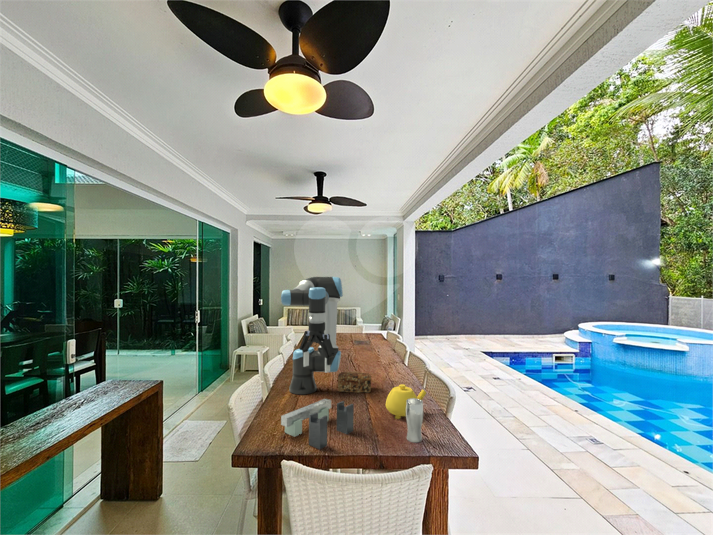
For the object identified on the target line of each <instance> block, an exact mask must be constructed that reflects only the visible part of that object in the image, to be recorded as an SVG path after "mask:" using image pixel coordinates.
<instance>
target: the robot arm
mask: <svg viewBox="0 0 713 535" xmlns="http://www.w3.org/2000/svg"><path fill="white" fill-rule="evenodd" d="M343 295H344V294H343V284H342V279H341V278H340V277H338V276H313V277H311V276H310V277H309V278H308V277H307V278H305V279H303V280H301V281H299V283H298V285H297V286H295V287H294V288H293V289H284V290H282V291H281V296H280V297H281V298H280V300H281V301H280V302H281V304H282V305H283V306H287V307H290V306H291V307H294V306H296V307H297V306H299V307H300V306H303V307H305V306H306V307H308V321H309V322H308V330H305V331H304V334H303V337H302V341H301V342H300V346H299V348H297V349H295V350H294V351H293V352H292V353H293V354H292V378H291V381H290V385H289V387H288V388H289V390H288V391H289V392H290V394H294V395H309V394H313V393H315V392H316V391H317V388H318V387H317V384H316V380H315V377H314V373H325V374H327V373H337V372H338V370H339V369H340V368H339V367H340V363H341V358H342V357H341V355H342V351H341V350H339V346H338V345H337V327H338V326H337V323H338V322H337V319H338V303H339V301H341V298H342V297H343ZM314 343H316V344H318V345H319V346H318V347H317V350H315V348H314V347H313V346H312V344H314Z"/></svg>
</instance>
